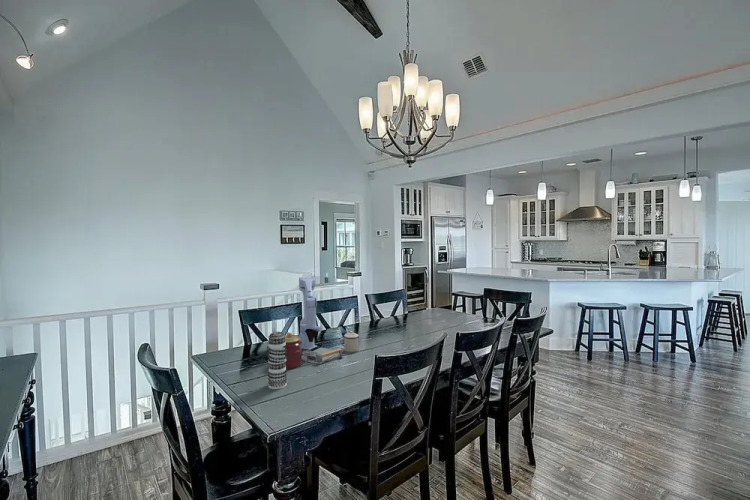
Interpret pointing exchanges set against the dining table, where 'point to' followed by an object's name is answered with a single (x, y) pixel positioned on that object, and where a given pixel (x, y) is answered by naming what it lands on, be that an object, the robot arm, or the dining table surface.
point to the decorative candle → (277, 360)
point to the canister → (293, 351)
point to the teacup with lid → (350, 342)
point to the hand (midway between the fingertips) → (311, 341)
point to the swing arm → (327, 354)
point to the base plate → (311, 355)
